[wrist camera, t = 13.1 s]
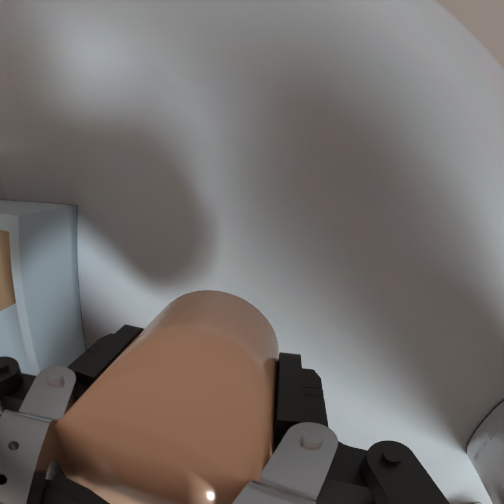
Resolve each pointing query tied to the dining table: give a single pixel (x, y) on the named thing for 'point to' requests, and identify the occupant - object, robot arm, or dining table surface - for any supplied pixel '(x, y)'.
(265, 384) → the peach rounded cylinder
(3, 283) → the walnut cube
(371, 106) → the dining table surface
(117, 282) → the dining table surface
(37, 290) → the tote
